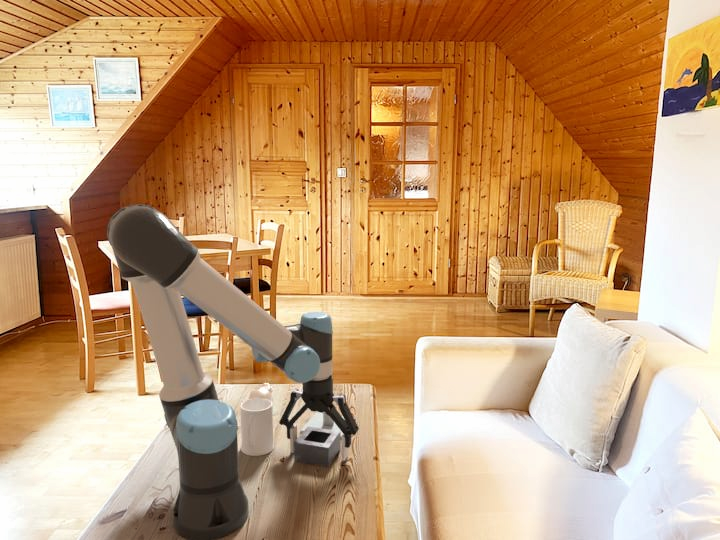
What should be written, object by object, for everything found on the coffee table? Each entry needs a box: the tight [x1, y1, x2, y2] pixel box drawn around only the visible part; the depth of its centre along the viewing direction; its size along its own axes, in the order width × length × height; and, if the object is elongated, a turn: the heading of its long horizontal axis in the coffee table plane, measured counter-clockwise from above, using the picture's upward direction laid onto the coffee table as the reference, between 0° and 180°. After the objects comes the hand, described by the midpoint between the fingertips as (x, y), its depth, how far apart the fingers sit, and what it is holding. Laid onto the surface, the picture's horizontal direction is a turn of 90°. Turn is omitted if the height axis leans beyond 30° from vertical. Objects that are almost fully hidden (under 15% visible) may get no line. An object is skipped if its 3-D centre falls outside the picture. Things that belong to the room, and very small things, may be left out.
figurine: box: [248, 382, 275, 404], centre depth 166 cm, size 11×7×15 cm
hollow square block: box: [293, 427, 341, 468], centre depth 138 cm, size 9×9×5 cm
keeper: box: [300, 408, 356, 439], centre depth 153 cm, size 12×12×6 cm
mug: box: [239, 398, 275, 457], centre depth 139 cm, size 12×8×12 cm
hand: (319, 454), depth 138 cm, fingers open, 13 cm apart
